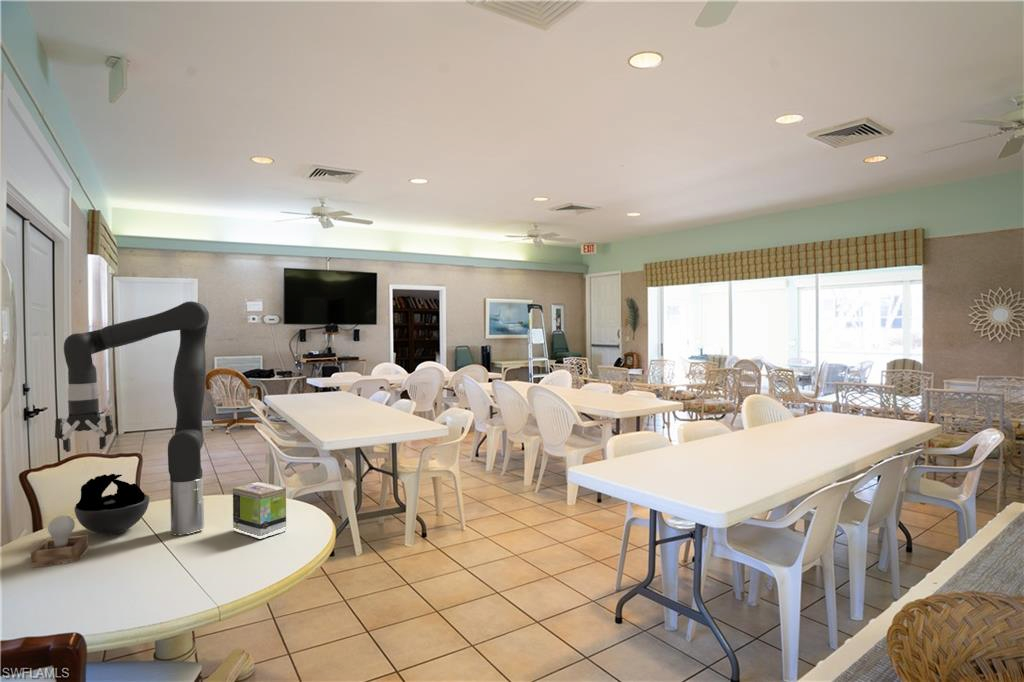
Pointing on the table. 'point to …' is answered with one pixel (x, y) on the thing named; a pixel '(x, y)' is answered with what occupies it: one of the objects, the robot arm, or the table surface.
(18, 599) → the table surface
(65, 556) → the wooden tray
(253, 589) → the table surface
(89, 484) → the coal bowl
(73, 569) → the table surface
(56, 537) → the lightbulb
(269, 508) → the tea box
